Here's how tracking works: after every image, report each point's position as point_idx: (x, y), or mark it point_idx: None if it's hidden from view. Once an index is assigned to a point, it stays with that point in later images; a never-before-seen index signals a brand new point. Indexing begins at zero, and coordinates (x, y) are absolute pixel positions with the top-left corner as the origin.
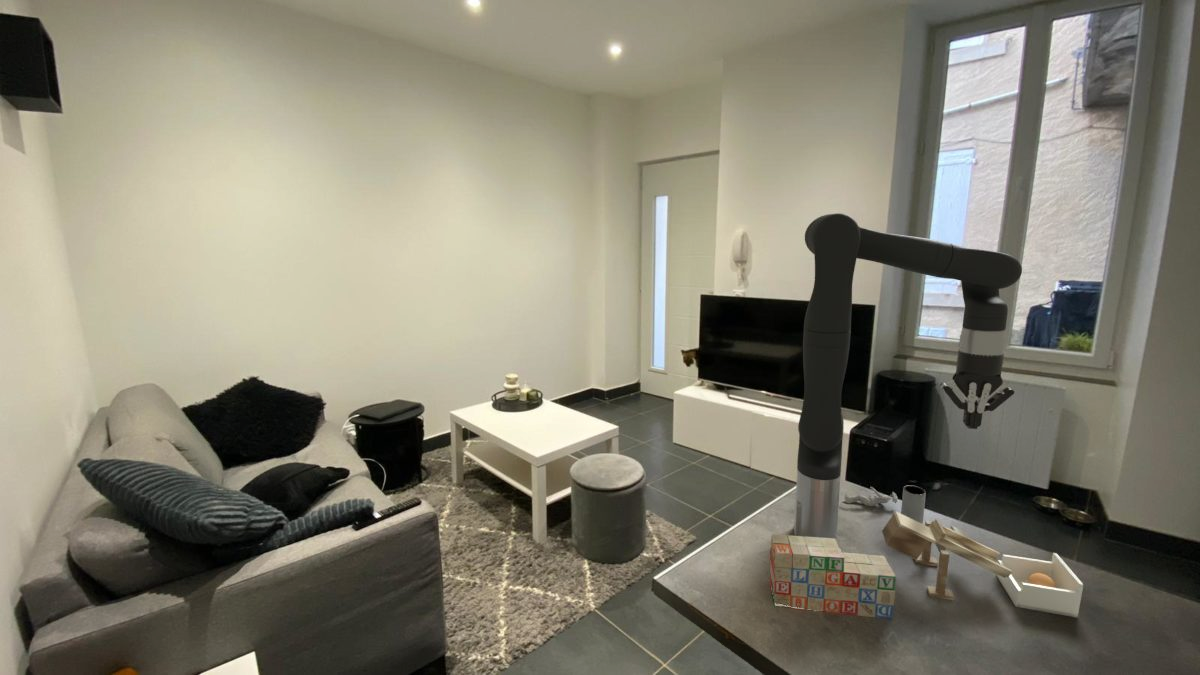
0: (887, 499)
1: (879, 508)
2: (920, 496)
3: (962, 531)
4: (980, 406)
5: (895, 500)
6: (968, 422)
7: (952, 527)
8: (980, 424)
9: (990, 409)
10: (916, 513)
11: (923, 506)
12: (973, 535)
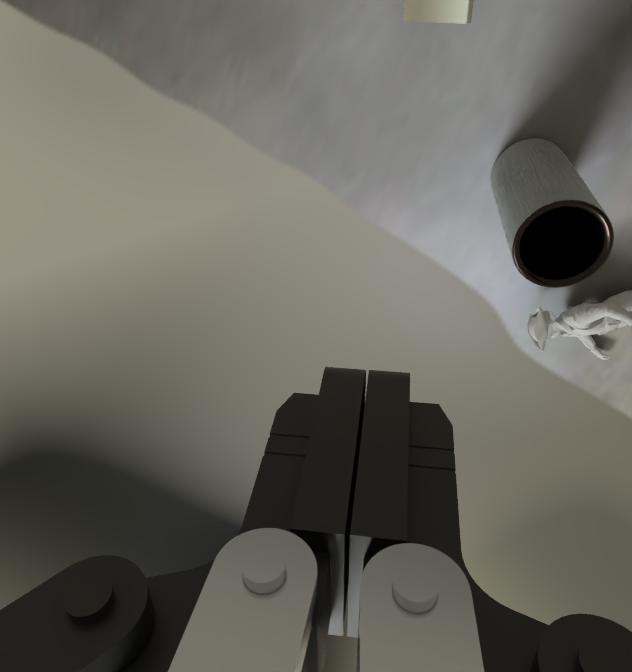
0: (576, 308)
1: (591, 289)
2: (552, 198)
3: (424, 8)
4: (256, 650)
5: (541, 312)
6: (416, 432)
7: (468, 9)
8: (282, 410)
9: (109, 581)
10: (546, 166)
11: (518, 191)
12: (318, 182)
